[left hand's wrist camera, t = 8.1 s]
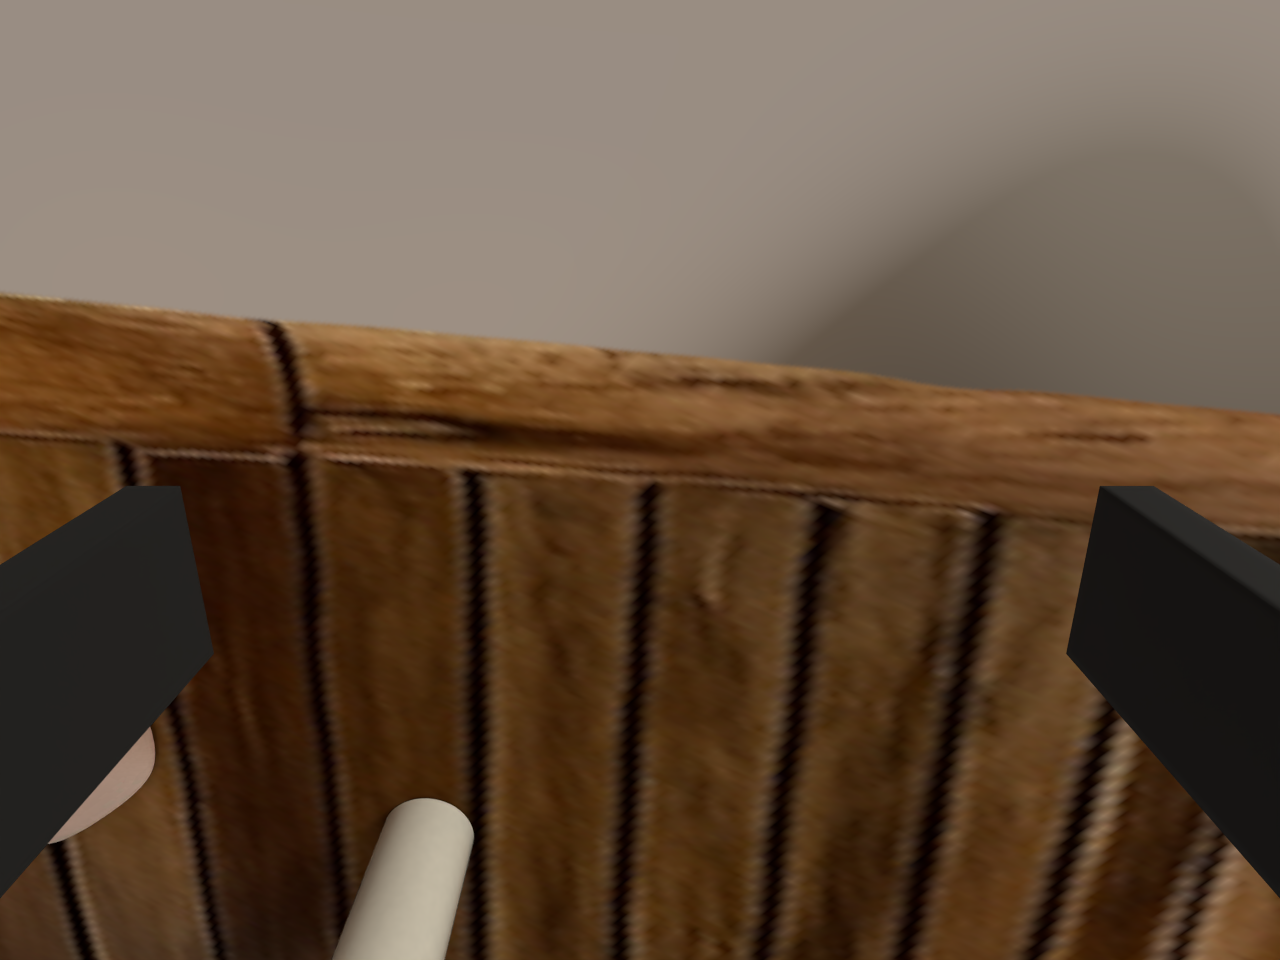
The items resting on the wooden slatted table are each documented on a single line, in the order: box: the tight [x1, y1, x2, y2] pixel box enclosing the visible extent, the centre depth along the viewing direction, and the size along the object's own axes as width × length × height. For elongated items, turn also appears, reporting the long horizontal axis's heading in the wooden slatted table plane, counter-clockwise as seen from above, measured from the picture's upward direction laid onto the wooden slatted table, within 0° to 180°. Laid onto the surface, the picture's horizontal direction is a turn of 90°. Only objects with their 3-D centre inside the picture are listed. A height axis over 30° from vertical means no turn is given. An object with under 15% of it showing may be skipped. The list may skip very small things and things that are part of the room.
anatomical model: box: [48, 727, 155, 844], centre depth 45 cm, size 13×4×12 cm
